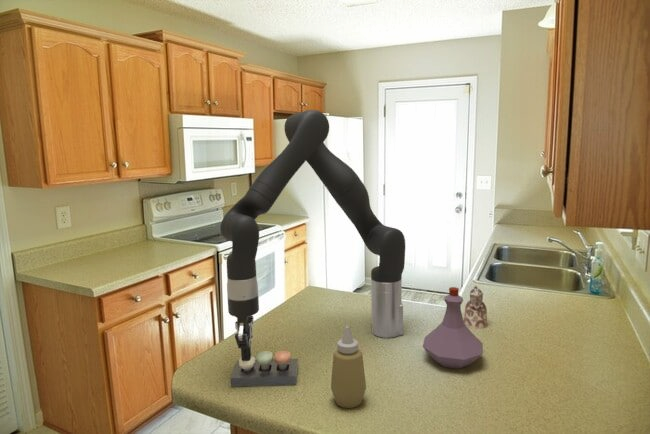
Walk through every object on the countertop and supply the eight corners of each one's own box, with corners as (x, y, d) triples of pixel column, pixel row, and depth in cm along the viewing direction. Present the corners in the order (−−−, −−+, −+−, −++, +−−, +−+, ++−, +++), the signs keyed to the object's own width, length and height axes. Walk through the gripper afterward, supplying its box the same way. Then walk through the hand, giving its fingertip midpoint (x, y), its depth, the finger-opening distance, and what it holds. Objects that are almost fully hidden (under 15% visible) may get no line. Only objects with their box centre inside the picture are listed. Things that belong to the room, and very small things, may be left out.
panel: (297, 367, 118) (297, 358, 118) (296, 385, 109) (295, 376, 109) (237, 368, 118) (237, 360, 118) (230, 387, 109) (230, 378, 109)
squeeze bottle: (329, 392, 106) (327, 320, 103) (363, 390, 106) (362, 318, 103) (333, 413, 98) (331, 335, 95) (369, 410, 98) (368, 333, 95)
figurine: (462, 327, 141) (463, 290, 139) (464, 318, 147) (465, 283, 145) (486, 330, 138) (487, 292, 136) (487, 321, 144) (488, 285, 142)
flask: (409, 362, 119) (410, 290, 116) (438, 341, 131) (439, 275, 128) (469, 382, 108) (471, 304, 105) (494, 357, 121) (497, 286, 117)
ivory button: (256, 369, 116) (256, 355, 115) (254, 377, 112) (253, 362, 111) (241, 370, 116) (240, 355, 115) (238, 378, 112) (237, 363, 111)
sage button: (274, 365, 115) (273, 350, 115) (272, 373, 111) (271, 358, 111) (258, 365, 115) (257, 351, 115) (256, 373, 111) (255, 358, 111)
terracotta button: (291, 364, 115) (290, 350, 115) (290, 372, 111) (289, 357, 111) (275, 365, 115) (275, 350, 115) (274, 373, 111) (273, 358, 111)
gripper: (254, 303, 104) (257, 372, 106) (261, 285, 117) (264, 347, 119) (221, 303, 104) (226, 373, 106) (232, 285, 117) (236, 348, 119)
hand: (246, 359), depth 113 cm, fingers closed
